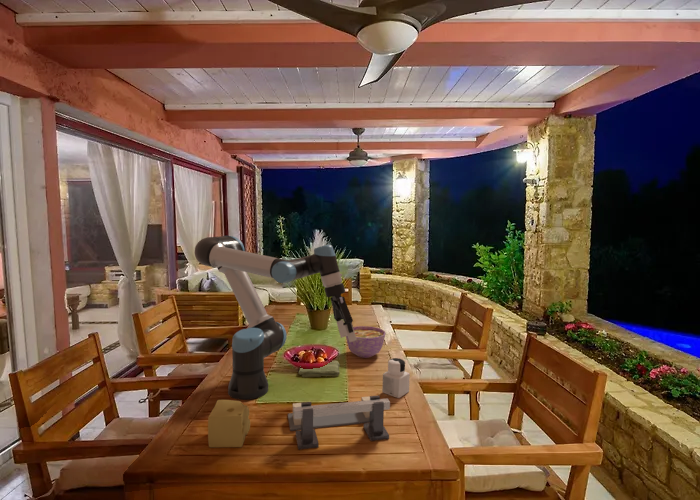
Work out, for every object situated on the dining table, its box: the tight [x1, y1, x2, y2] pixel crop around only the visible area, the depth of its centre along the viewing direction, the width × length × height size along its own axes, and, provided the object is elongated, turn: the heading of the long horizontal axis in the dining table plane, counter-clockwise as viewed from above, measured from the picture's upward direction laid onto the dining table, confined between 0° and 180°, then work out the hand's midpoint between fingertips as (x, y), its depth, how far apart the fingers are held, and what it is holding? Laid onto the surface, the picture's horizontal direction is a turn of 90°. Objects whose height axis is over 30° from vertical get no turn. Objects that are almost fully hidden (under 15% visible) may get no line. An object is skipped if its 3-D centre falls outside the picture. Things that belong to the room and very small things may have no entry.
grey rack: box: [295, 395, 390, 451], centre depth 122 cm, size 28×8×11 cm, turn 103°
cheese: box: [207, 399, 251, 448], centre depth 120 cm, size 10×11×10 cm
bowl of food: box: [345, 325, 387, 359], centre depth 194 cm, size 20×20×12 cm
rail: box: [292, 398, 391, 419], centre depth 122 cm, size 30×2×2 cm, turn 103°
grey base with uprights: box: [287, 396, 370, 432], centre depth 134 cm, size 31×10×5 cm, turn 103°
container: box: [381, 357, 411, 399], centre depth 153 cm, size 8×8×13 cm
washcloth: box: [298, 360, 341, 378], centre depth 173 cm, size 13×18×3 cm
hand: (348, 338), depth 150 cm, fingers open, 13 cm apart
